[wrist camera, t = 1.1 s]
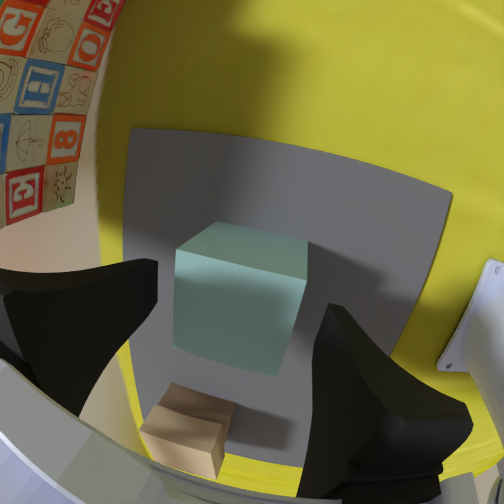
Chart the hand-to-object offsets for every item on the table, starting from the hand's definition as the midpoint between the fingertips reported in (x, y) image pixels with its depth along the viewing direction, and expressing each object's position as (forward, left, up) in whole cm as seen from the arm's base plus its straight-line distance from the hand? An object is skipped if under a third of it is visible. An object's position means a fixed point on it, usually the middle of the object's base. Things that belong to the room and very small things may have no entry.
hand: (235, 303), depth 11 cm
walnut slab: (+2, +13, -3) cm, 14 cm away
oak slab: (+2, +13, -1) cm, 13 cm away
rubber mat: (-1, +6, -4) cm, 7 cm away
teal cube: (0, 0, -3) cm, 3 cm away
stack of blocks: (+15, -12, -4) cm, 20 cm away
